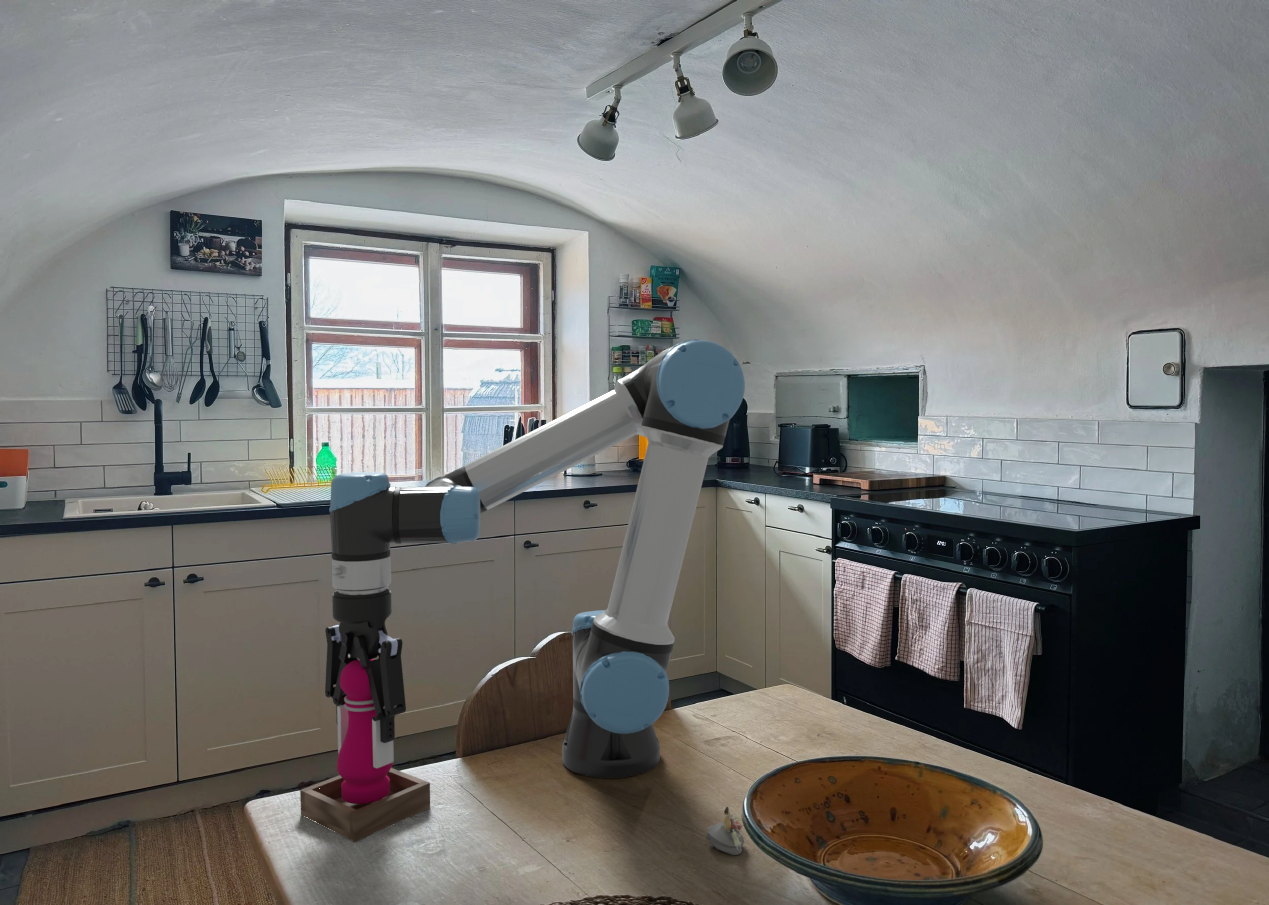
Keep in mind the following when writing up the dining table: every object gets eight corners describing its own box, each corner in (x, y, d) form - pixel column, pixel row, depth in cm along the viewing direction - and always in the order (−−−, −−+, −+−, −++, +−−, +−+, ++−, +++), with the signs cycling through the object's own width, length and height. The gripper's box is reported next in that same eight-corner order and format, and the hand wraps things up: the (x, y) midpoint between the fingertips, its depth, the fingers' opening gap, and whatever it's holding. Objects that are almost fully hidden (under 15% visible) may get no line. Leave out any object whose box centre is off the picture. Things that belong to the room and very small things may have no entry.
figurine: (697, 842, 113) (704, 798, 112) (724, 833, 115) (730, 790, 114) (725, 866, 108) (732, 820, 107) (752, 856, 111) (759, 812, 110)
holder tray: (430, 807, 123) (429, 782, 123) (355, 841, 113) (354, 814, 113) (375, 785, 130) (375, 761, 130) (300, 815, 121) (300, 789, 120)
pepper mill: (377, 808, 117) (374, 656, 116) (327, 803, 119) (323, 654, 118) (402, 785, 124) (400, 642, 123) (354, 781, 126) (351, 639, 125)
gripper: (294, 584, 123) (298, 749, 124) (385, 603, 111) (389, 785, 112) (341, 575, 129) (345, 733, 130) (433, 593, 117) (436, 766, 118)
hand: (365, 757), depth 121 cm, fingers closed on pepper mill, 7 cm apart
